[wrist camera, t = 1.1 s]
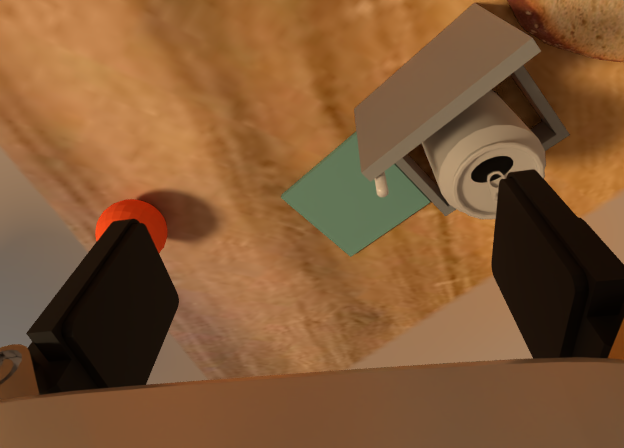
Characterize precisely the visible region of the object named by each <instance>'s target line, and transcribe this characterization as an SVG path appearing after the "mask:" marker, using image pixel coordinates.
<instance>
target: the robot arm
mask: <svg viewBox="0 0 624 448" xmlns="http://www.w3.org/2000/svg"><path fill="white" fill-rule="evenodd" d="M492 272H493V275H494V278H495V280H496V282H497V284H498V286H499V288H500V290H501V293H502V295H503V297H504V299H505V301H506V303H507V305H508V307H509V309H510V311H511V313H512V315H513V317H514V320H515V321H516V324H517V326H518V328H519V330H520V332H521V334H522V336H523V338H524V340H525V342H526V344H527V347H528V349H529V351H530V353H531V354H532V357H533V359H510V360H494V361H476V362H458V363H443V364H429V365H413V366H399V367H384V368H368V369H353V370H338V371H324V372H310V373H296V374H282V375H268V376H255V377H241V378H227V379H214V380H202V381H189V382H176V383H163V384H150V385H146V383H147V380H148V378H149V375H150V373H151V371H152V368H153V366H154V364H155V361H156V359H157V356H158V354H159V351H160V349H161V347H162V344H163V342H164V339H165V337H166V335H167V332H168V330H169V327H170V325H171V322H172V320H173V318H174V315H175V313H176V310H177V308H178V304H179V298H178V294H177V292H176V289H175V287H174V285H173V283H172V281H171V279H170V276H169V274H168V272H167V270H166V268H165V266H164V263H163V261H162V259H161V257H160V255H159V253H158V251H157V248H156V246H155V244H154V242H153V240H152V238H151V235H150V233H149V231H148V229H147V227H146V225H145V224H143V223H140V222H139V221H138V220H137V219H127V220H119V221H113V222H112V223H111V224H110V225H109V227H108V228H107V229H106V231H105V232H104V233H103V234H102V236H101V237H100V238H99V240H98V241H97V242H96V244H95V245H94V246H93V247H92V249H91V250H90V251H89V253H88V254H87V255H86V257H85V258H84V259H83V260H82V262H81V263H80V264H79V266H78V267H77V268H76V270H75V271H74V272H73V273H72V275H71V276H70V277H69V279H68V280H67V281H66V282H65V284H64V285H63V287H62V288H61V289H60V290H59V292H58V293H57V294H56V295H55V297H54V298H53V299H52V301H51V302H50V303H49V305H48V306H47V307H46V308H45V310H44V311H43V312H42V314H41V315H40V316H39V318H38V319H37V320H36V321H35V323H34V324H33V325H32V327H31V328H30V329H29V331H28V332H27V335H28V336H29V337H30V339H31V340H32V343H31V344H30V346H29V347H28V348H27V347H26V346H23V345H21V344H12V345H8V346H4V347H1V348H0V448H624V264H623V263H622V262H621V261H620V260H619V259H618V258H617V257H616V255H615V254H614V253H613V252H612V251H611V250H610V249H609V248H608V247H607V245H606V244H605V243H604V242H603V241H602V240H601V239H600V238H599V236H598V235H597V234H596V233H595V232H594V231H593V230H592V229H591V228H590V226H589V225H588V224H587V223H586V222H585V221H584V220H583V219H581V218H578V217H577V216H576V215H575V214H574V213H573V212H572V211H571V209H570V208H569V207H568V206H567V205H566V204H565V203H564V201H563V200H562V199H561V198H560V197H559V196H558V195H557V194H556V192H555V191H554V190H553V189H552V188H551V187H550V186H549V184H548V183H547V182H546V181H545V180H544V179H543V178H542V177H541V175H540V174H539V173H538V172H537V171H536V170H535V169H531V170H523V171H515V172H509V173H508V175H507V177H506V179H501V180H500V182H499V188H498V199H497V209H496V220H495V231H494V242H493V253H492Z"/></svg>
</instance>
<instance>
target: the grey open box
mask: <svg viewBox="0 0 624 448" xmlns="http://www.w3.org/2000/svg"><path fill="white" fill-rule="evenodd" d="M539 52H541V50H540V49H539V47H538V45H537V44H536V42H535V41H534V39H533V38H532V37H530V36H529V35H527V34H526V33H524V32H522V31H521V30H519V29H517V28H516V27H514V26H512V25H511V24H509V23H507V22H506V21H504V20H502V19H501V18H499V17H497V16H496V15H494V14H492V13H491V12H489V11H487V10H486V9H484V8H482V7H481V6H479V5H477V4H476V3H473V4H472V5H471V6H470V7H469V8H468V9H467V10H466V11H464V12H463V13H462V14H461V15H460V16H459V17H458V18H456V19H455V20H454V21H453V22H452V23H451V24H450V25H449V26H447V27H446V28H445V29H444V30H443V31H442V32H441V33H440V34H438V35H437V36H436V37H435V38H434V39H433V40H432V41H430V42H429V43H428V44H427V45H426V46H425V47H424V48H423V49H421V50H420V51H419V52H418V53H417V54H416V55H415V56H413V57H412V58H411V59H410V60H409V61H408V62H407V63H406V64H404V65H403V66H402V67H401V68H400V69H399V70H398V71H396V72H395V73H394V74H393V75H392V76H391V77H390V78H389V79H387V80H386V81H385V82H384V83H383V84H382V85H381V86H379V87H378V88H377V89H376V90H375V91H374V92H373V93H372V94H370V95H369V96H368V97H367V98H366V99H365V100H364V101H362V102H361V103H360V104H359V105H358V106H357V107H356V108H355V109H354V113H355V122H356V131H357V140H358V149H359V157H360V166H361V173H362V174H363V175H364V176H365V177H366V178H367V179H368V180H369V181H370V182H371V181H372V180H374V179H375V185H376V191H377V195H378V196H379V197H386V196H387V195H388V193H389V191H388V186H387V181H386V176H385V170H387V169H388V168H389V167H391V166H392V165H393V164H396V165H397V166H398V167H399V168H400V169H401V170H402V171H403V172H404V173H405V174H406V175H407V176H408V177H409V178H410V179H411V180H412V181H413V183H414V184H415V185H416V186H417V187H418V188H419V189H420V190H421V191H422V192H423V193H424V194H425V195H426V196H427V197H428V198H429V199H430V200H431V201H432V202H433V203H434V205H435V206H436V207H437V208H438V209H439V210H440V211H441V212H442V213H443V214H444V215H445V216H447V215H448V214H450V213H451V212H453V211H454V210H456V208H454V207H453V206H451V205H450V204H449V203H448V202H447V201H446V199H445V198H444V196H443V195H442V194H441V191H440V189H439V187H438V186H437V185H436V184H435V183H434V182H433V181H432V180H431V179H430V178H429V177H428V175H427V174H426V173H425V172H424V171H423V170H422V169H421V168H420V167H419V166H418V165H417V164H416V162H415V161H414V160H413V159H412V158H411V157H410V156H409V155H408V153H409V152H410V151H412V150H413V149H414V148H416V147H417V146H418V145H419V144H421V143H422V142H423V141H425V140H426V139H427V138H429V137H430V136H431V135H432V134H434V133H435V132H436V131H438V130H439V129H440V128H442V127H443V126H444V125H446V124H447V123H448V122H449V121H451V120H452V119H453V118H455V117H456V116H457V115H459V114H460V113H461V112H462V111H464V110H465V109H466V108H468V107H469V106H470V105H472V104H473V103H474V102H476V101H477V100H478V99H479V98H481V97H482V96H483V95H485V94H486V93H487V92H489V91H490V90H491V89H492V88H494V87H495V86H496V85H498V84H499V83H500V82H502V81H503V80H504V79H506V78H507V77H508V76H509V75H511V76H512V78H513V79H514V81H515V82H516V83H517V85H518V86H519V88H520V89H521V91H522V92H523V93H524V95H525V96H526V98H527V99H528V101H529V102H530V103H531V105H532V106H533V108H534V109H535V111H536V112H537V113H538V115H539V116H540V118H541V119H542V122H540V123H539V124H537V125H536V126H535V127H533V128H532V129H530V130H531V131H532V132H533V133H534V134H535V135H536V137H537V138H538V139H539V141H540V142H541V144H542V146H543V148H544V150H545V151H546V150H548V149H549V148H551V147H552V146H554V145H555V144H557V143H558V142H560V141H561V140H563V139H564V138H566V137H567V136H569V135H570V134H569V133H568V131H567V130H566V128H565V127H564V125H563V124H562V122H561V121H560V119H559V118H558V116H557V115H556V113H555V112H554V110H553V109H552V107H551V106H550V104H549V103H548V101H547V100H546V98H545V97H544V95H543V94H542V93H541V91H540V90H539V88H538V87H537V85H536V84H535V82H534V81H533V79H532V78H531V76H530V75H529V73H528V72H527V70H526V69H525V67H524V66H523V65H524V64H525V63H526V62H528V61H529V60H530V59H532V58H533V57H534V56H536V55H537V54H538V53H539Z"/></svg>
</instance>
